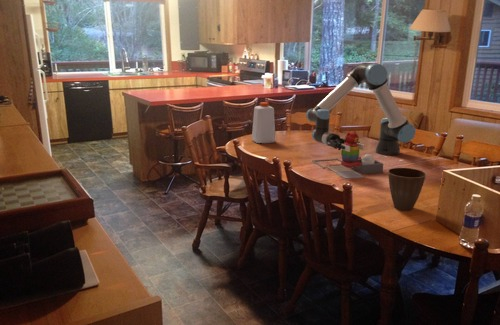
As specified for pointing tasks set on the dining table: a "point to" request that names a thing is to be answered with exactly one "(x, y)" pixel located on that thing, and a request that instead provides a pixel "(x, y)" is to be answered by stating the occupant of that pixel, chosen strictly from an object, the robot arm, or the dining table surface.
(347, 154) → the stacking bear
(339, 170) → the track
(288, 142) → the dining table surface
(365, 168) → the popper base
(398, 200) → the plant pot
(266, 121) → the plastic bottle
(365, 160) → the dome
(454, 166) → the dining table surface
